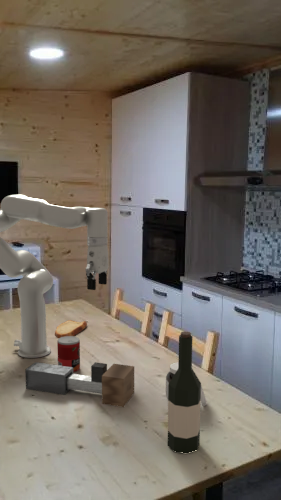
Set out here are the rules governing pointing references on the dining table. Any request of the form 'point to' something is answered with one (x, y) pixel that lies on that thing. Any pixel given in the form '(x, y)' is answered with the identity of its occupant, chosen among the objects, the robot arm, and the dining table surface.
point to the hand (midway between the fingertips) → (97, 286)
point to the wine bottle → (184, 401)
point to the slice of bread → (69, 328)
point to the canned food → (69, 352)
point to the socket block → (118, 385)
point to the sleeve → (47, 377)
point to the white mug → (170, 375)
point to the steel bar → (87, 379)
